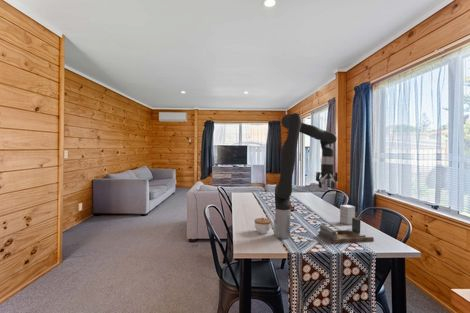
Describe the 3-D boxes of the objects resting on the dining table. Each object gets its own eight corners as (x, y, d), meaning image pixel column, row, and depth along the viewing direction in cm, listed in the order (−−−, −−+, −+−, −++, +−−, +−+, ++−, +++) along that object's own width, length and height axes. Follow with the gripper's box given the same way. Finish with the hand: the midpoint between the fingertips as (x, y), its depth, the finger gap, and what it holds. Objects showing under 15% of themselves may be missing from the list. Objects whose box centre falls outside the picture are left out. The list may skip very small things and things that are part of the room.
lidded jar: (274, 232, 152) (274, 218, 152) (263, 236, 145) (263, 221, 145) (262, 228, 160) (262, 214, 160) (250, 231, 153) (251, 217, 153)
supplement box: (347, 221, 179) (347, 204, 179) (355, 223, 172) (355, 206, 172) (339, 221, 177) (339, 205, 176) (347, 224, 170) (347, 207, 169)
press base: (331, 245, 131) (332, 232, 131) (318, 236, 145) (319, 224, 145) (373, 243, 135) (373, 230, 135) (357, 234, 149) (357, 223, 149)
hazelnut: (332, 239, 137) (332, 233, 137) (328, 237, 141) (328, 231, 141) (338, 239, 137) (338, 233, 137) (335, 236, 141) (335, 231, 141)
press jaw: (359, 240, 136) (359, 221, 135) (347, 233, 146) (347, 216, 146) (365, 240, 136) (365, 221, 136) (352, 233, 147) (353, 215, 147)
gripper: (320, 163, 151) (319, 188, 152) (340, 164, 153) (339, 188, 154) (314, 163, 159) (313, 187, 159) (334, 163, 161) (333, 187, 161)
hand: (326, 187), depth 156 cm, fingers open, 8 cm apart
